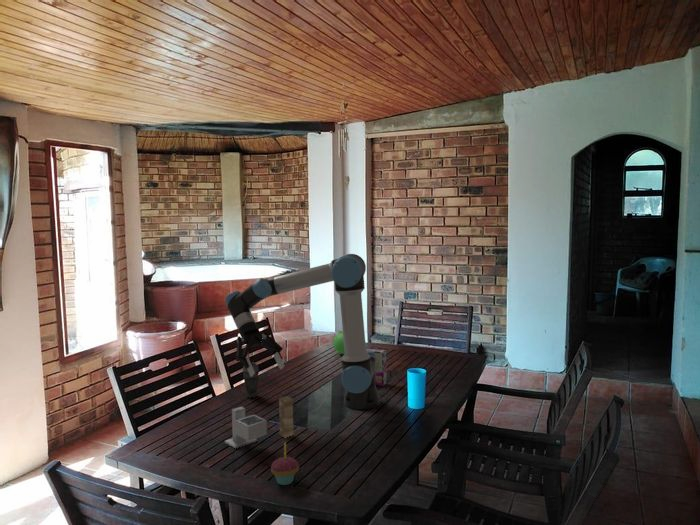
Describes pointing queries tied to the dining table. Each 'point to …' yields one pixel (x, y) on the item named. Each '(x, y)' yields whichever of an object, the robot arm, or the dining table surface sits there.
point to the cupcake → (284, 469)
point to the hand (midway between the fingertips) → (268, 371)
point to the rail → (286, 416)
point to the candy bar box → (380, 366)
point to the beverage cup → (251, 380)
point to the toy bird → (339, 342)
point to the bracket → (246, 428)
